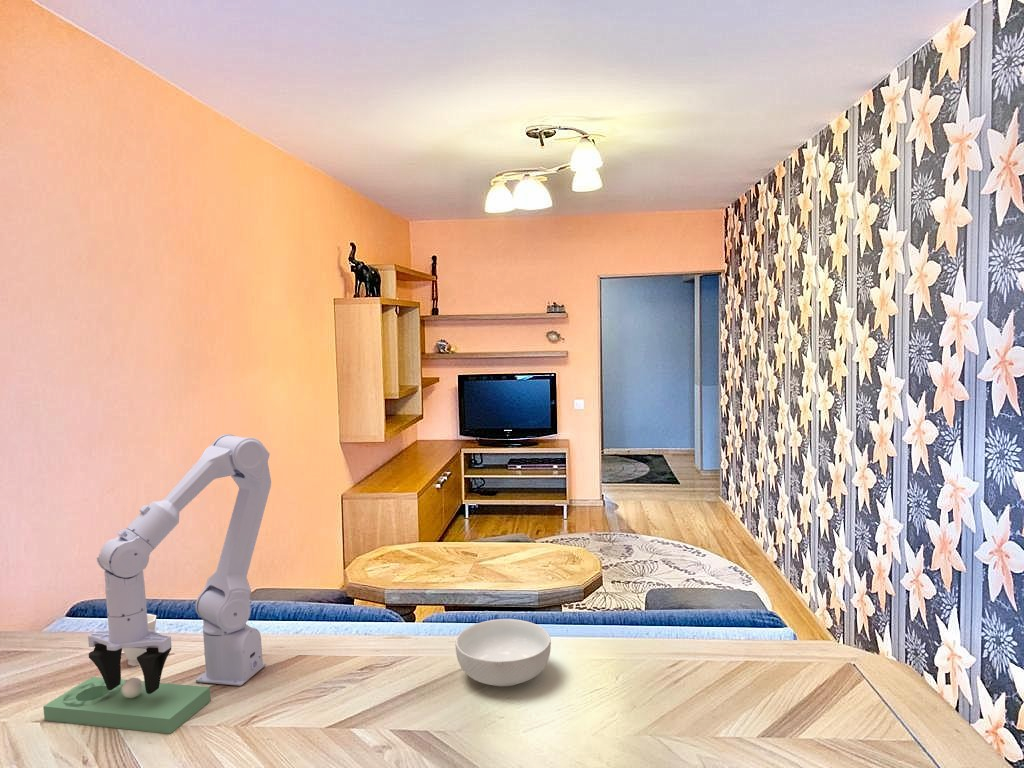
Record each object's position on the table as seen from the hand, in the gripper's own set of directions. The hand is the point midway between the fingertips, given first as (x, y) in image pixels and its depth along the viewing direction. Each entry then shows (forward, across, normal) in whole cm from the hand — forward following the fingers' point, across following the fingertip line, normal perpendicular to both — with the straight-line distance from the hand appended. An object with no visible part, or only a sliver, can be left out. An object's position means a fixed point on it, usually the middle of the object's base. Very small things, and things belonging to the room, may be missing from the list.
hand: (133, 689), depth 117 cm
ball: (0, 0, 0) cm, 0 cm away
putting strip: (+4, -1, 0) cm, 4 cm away
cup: (+4, -14, +17) cm, 22 cm away
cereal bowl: (+4, +59, +21) cm, 63 cm away
